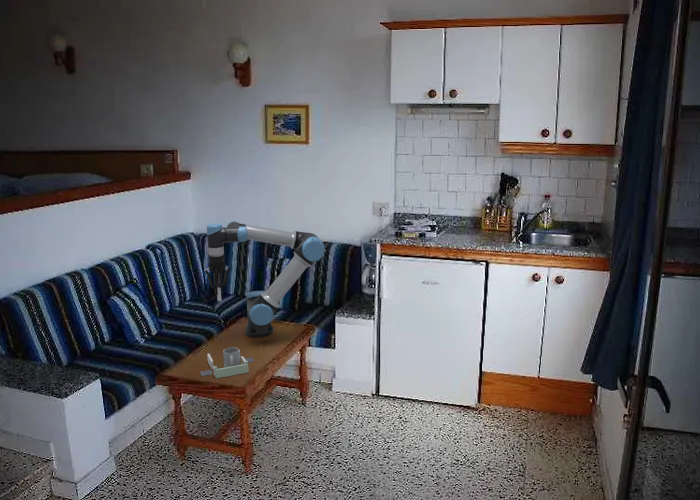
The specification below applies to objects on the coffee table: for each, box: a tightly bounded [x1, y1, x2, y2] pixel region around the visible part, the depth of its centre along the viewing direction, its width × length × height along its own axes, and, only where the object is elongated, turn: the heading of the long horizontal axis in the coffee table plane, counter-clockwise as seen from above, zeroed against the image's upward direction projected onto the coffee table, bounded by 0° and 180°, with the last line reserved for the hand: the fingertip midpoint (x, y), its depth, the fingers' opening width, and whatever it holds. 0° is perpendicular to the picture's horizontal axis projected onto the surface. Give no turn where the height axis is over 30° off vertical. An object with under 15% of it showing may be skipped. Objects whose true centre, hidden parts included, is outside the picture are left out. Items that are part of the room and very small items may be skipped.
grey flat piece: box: [199, 350, 255, 379], centre depth 276 cm, size 26×20×5 cm
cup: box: [222, 346, 241, 368], centre depth 273 cm, size 7×10×9 cm
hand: (219, 300), depth 297 cm, fingers closed
